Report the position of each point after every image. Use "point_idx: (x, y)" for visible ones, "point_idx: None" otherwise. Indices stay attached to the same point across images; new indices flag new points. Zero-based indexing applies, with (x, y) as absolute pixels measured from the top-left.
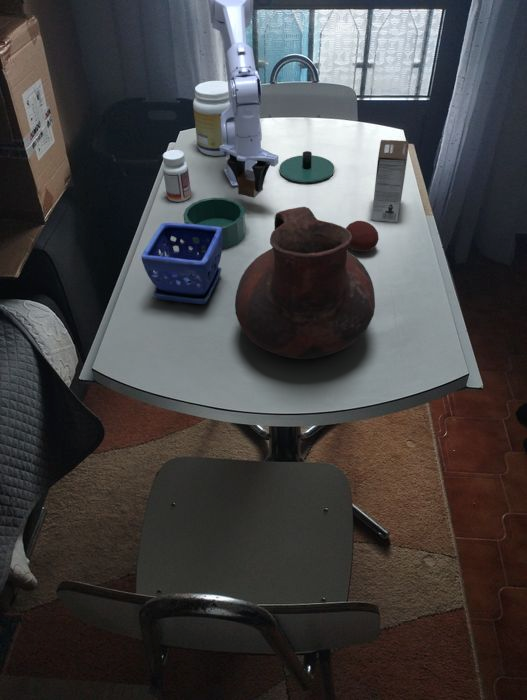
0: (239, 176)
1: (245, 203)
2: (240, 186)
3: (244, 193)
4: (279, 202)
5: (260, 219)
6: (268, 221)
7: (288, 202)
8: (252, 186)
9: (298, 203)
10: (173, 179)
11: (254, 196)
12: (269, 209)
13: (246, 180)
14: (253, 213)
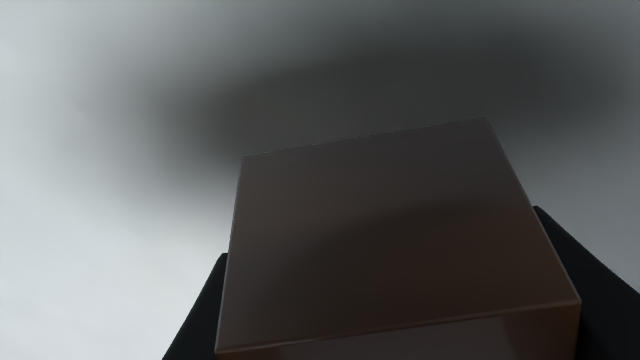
0: (555, 337)
1: None
2: (473, 197)
3: (389, 149)
4: None
5: (119, 3)
6: (27, 22)
7: (159, 323)
8: (244, 266)
9: (93, 347)
10: None
11: (240, 173)
12: (195, 183)
13: (365, 315)
14: (263, 51)
